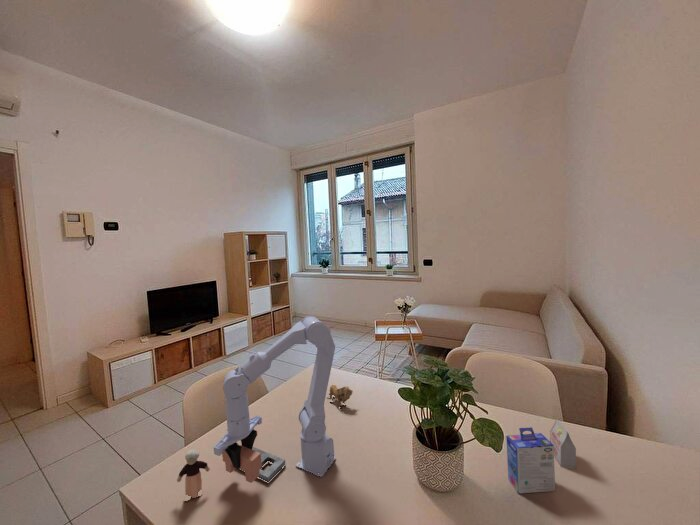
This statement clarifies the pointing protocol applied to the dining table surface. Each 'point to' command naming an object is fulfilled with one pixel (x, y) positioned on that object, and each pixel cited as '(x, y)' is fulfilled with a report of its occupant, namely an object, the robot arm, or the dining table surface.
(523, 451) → the ink cartridge box
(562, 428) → the white gable-top carton
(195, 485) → the grandmother figurine
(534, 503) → the dining table surface
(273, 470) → the slotted metal plate
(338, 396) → the lion figurine
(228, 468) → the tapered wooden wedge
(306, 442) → the robot arm
